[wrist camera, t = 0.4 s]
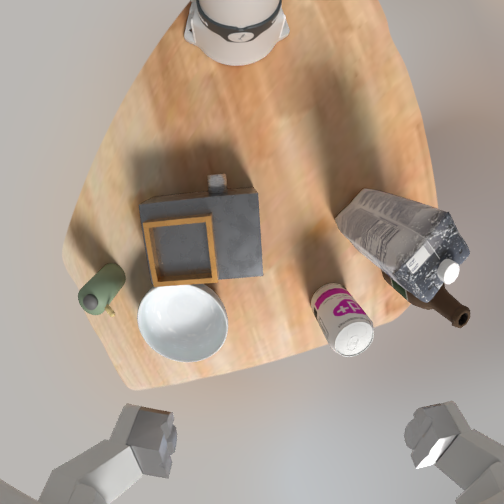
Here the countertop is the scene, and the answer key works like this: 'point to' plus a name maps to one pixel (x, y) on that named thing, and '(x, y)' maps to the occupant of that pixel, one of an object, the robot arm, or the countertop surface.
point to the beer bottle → (436, 303)
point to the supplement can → (342, 320)
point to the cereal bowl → (183, 321)
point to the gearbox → (202, 235)
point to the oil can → (102, 290)
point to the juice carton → (405, 240)
